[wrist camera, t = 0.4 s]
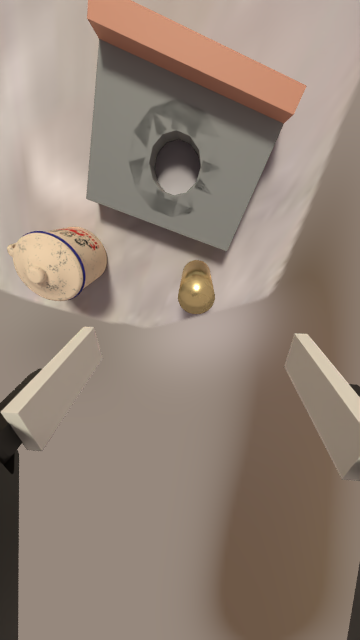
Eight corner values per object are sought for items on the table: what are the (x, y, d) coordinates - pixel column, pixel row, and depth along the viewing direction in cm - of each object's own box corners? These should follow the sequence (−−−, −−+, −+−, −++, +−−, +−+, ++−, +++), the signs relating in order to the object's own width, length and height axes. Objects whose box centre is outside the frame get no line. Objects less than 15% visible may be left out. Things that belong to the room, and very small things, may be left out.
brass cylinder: (179, 281, 35) (173, 307, 26) (188, 256, 33) (185, 275, 24) (203, 290, 35) (206, 318, 27) (214, 265, 33) (220, 287, 24)
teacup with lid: (111, 234, 32) (72, 249, 22) (106, 287, 36) (72, 319, 26) (34, 211, 31) (-44, 214, 21) (39, 267, 35) (-24, 293, 25)
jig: (97, 199, 29) (76, 198, 24) (115, 33, 22) (89, -20, 16) (223, 246, 31) (229, 255, 26) (282, 111, 24) (306, 85, 18)
